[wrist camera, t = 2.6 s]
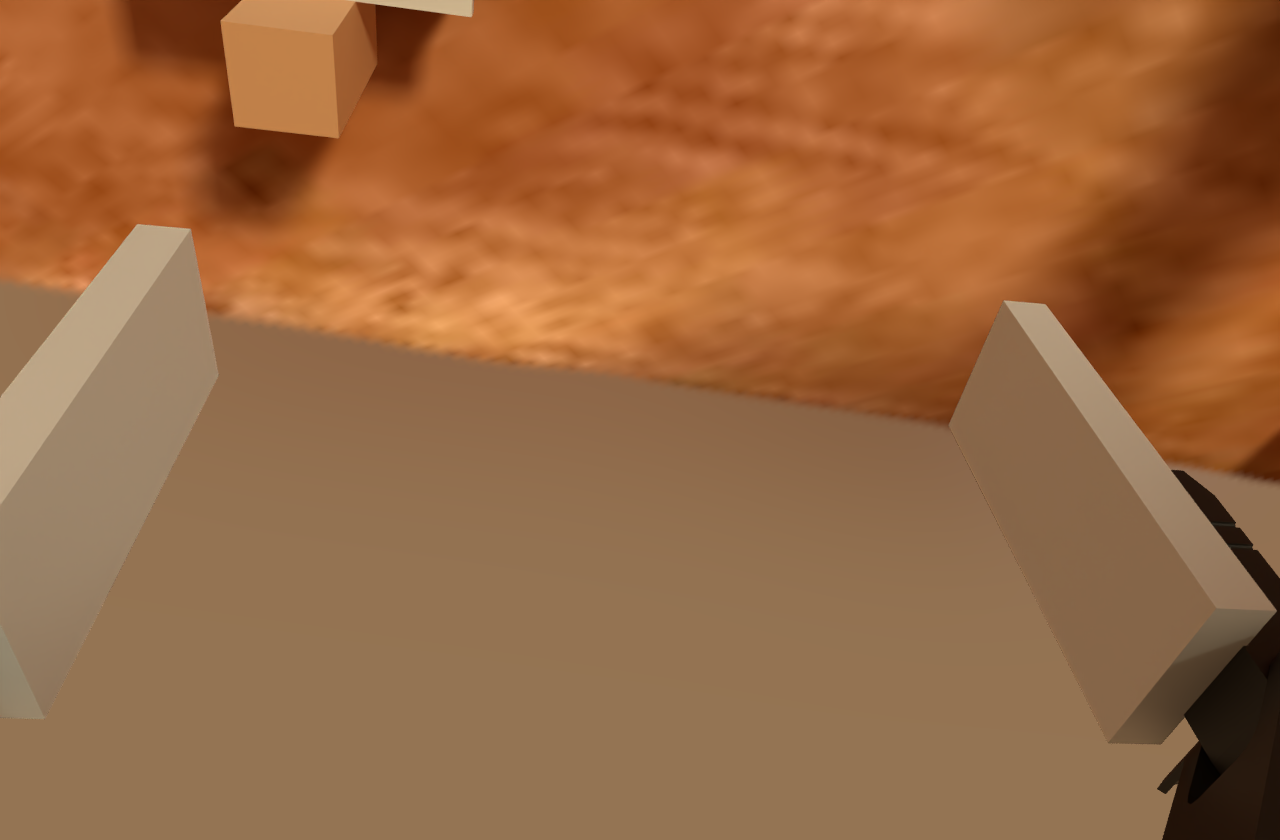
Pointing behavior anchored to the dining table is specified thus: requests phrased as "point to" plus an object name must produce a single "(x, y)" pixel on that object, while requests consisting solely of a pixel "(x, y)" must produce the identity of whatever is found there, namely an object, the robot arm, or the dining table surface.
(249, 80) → the lid
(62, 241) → the dining table surface
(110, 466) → the robot arm
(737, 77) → the dining table surface
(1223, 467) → the dining table surface
